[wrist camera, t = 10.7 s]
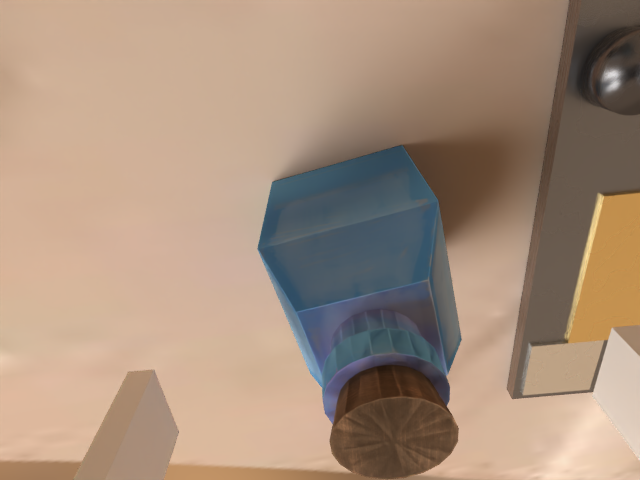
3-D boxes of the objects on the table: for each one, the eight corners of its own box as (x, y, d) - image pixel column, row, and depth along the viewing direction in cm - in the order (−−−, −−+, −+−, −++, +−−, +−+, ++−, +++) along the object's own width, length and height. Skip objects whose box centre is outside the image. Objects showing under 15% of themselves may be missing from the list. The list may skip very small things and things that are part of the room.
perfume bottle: (272, 181, 20) (228, 382, 9) (402, 144, 19) (514, 317, 8) (310, 285, 23) (310, 526, 12) (424, 256, 22) (528, 488, 11)
